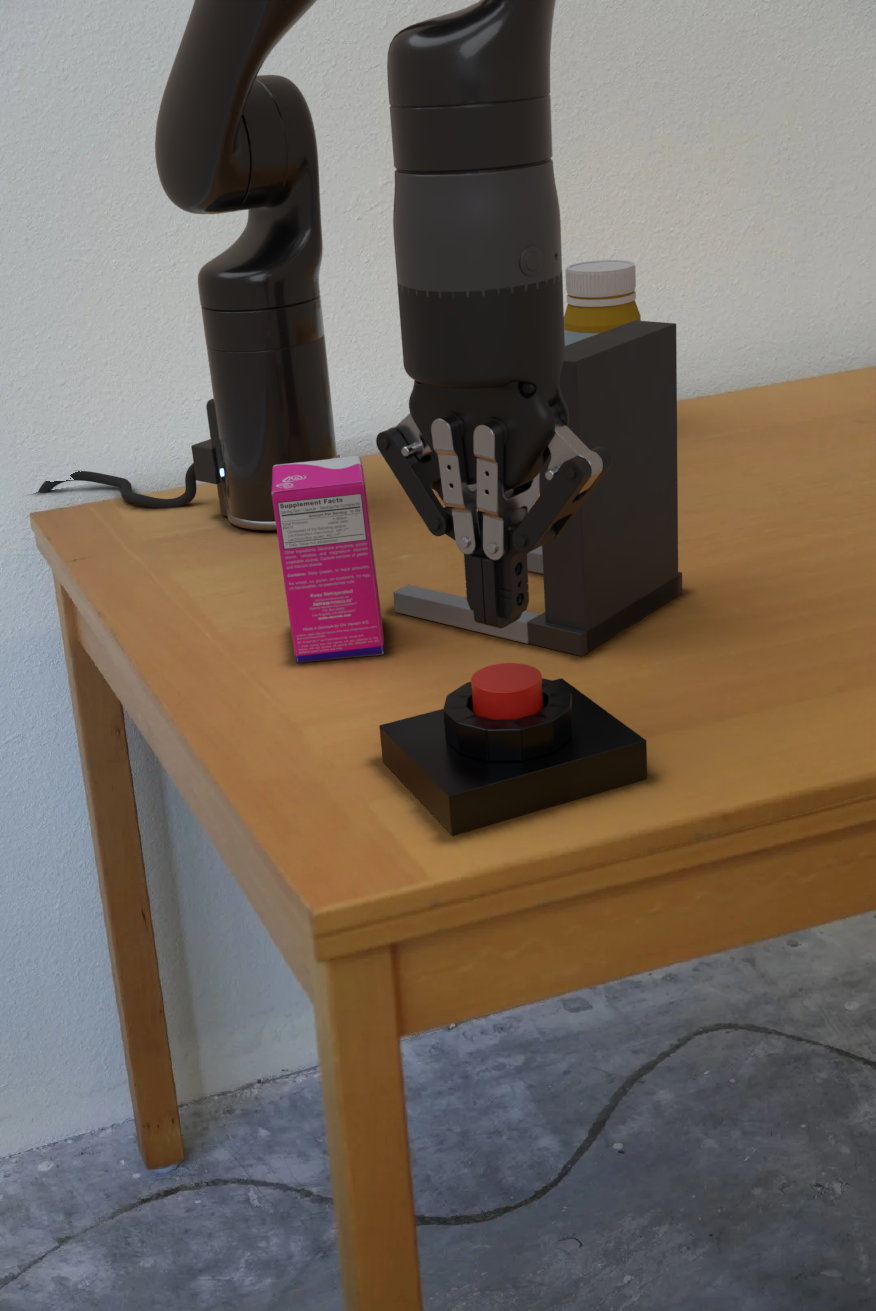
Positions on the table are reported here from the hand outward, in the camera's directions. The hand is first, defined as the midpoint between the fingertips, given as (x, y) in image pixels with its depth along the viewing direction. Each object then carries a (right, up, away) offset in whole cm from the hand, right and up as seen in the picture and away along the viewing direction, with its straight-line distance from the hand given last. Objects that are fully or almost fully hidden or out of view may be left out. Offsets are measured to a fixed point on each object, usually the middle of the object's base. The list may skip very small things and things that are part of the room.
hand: (498, 620), depth 74 cm
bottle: (+12, +19, +63) cm, 67 cm away
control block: (+1, -8, +3) cm, 9 cm away
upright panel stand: (+4, +2, +24) cm, 25 cm away
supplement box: (-9, -1, +21) cm, 23 cm away
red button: (+1, -4, +2) cm, 5 cm away
